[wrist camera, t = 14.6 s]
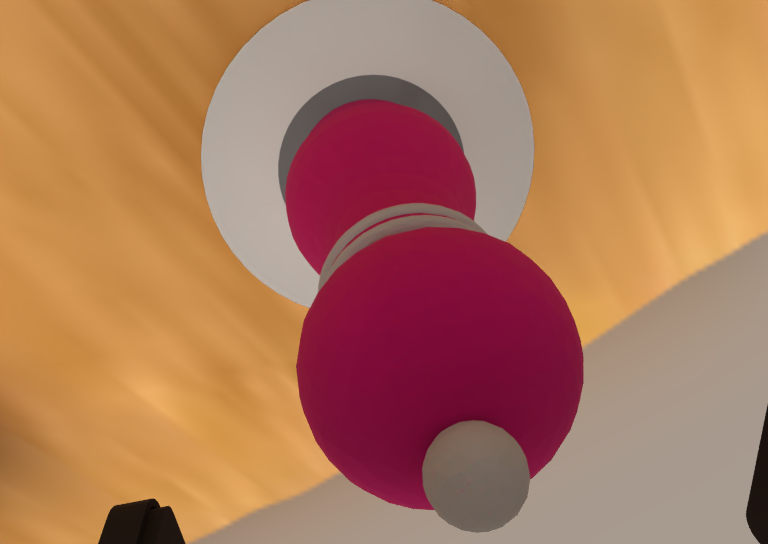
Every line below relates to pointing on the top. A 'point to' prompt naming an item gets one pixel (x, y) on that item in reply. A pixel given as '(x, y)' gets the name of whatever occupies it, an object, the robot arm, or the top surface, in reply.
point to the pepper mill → (423, 323)
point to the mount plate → (348, 84)
